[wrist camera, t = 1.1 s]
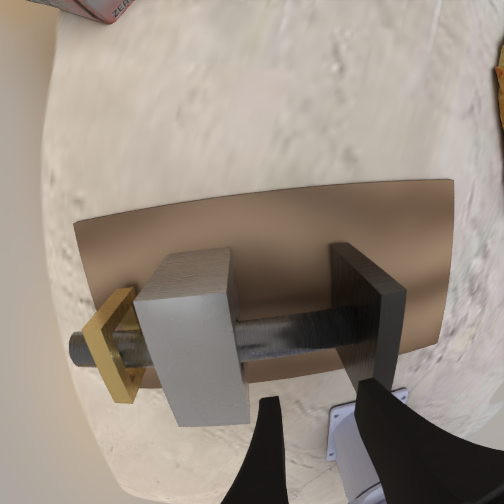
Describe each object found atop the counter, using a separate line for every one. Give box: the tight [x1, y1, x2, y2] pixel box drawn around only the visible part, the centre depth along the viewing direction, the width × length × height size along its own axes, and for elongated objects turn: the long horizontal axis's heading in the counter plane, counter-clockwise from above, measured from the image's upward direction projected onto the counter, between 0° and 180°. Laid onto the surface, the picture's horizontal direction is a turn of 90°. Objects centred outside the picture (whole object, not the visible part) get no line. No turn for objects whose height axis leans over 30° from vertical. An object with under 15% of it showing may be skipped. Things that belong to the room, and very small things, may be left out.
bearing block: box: [133, 246, 250, 427], centre depth 16 cm, size 8×4×7 cm, turn 7°
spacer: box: [82, 287, 147, 404], centre depth 16 cm, size 5×1×5 cm, turn 7°
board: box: [73, 179, 454, 388], centre depth 20 cm, size 14×27×1 cm, turn 97°
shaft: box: [69, 242, 407, 393], centre depth 15 cm, size 7×17×7 cm, turn 97°
